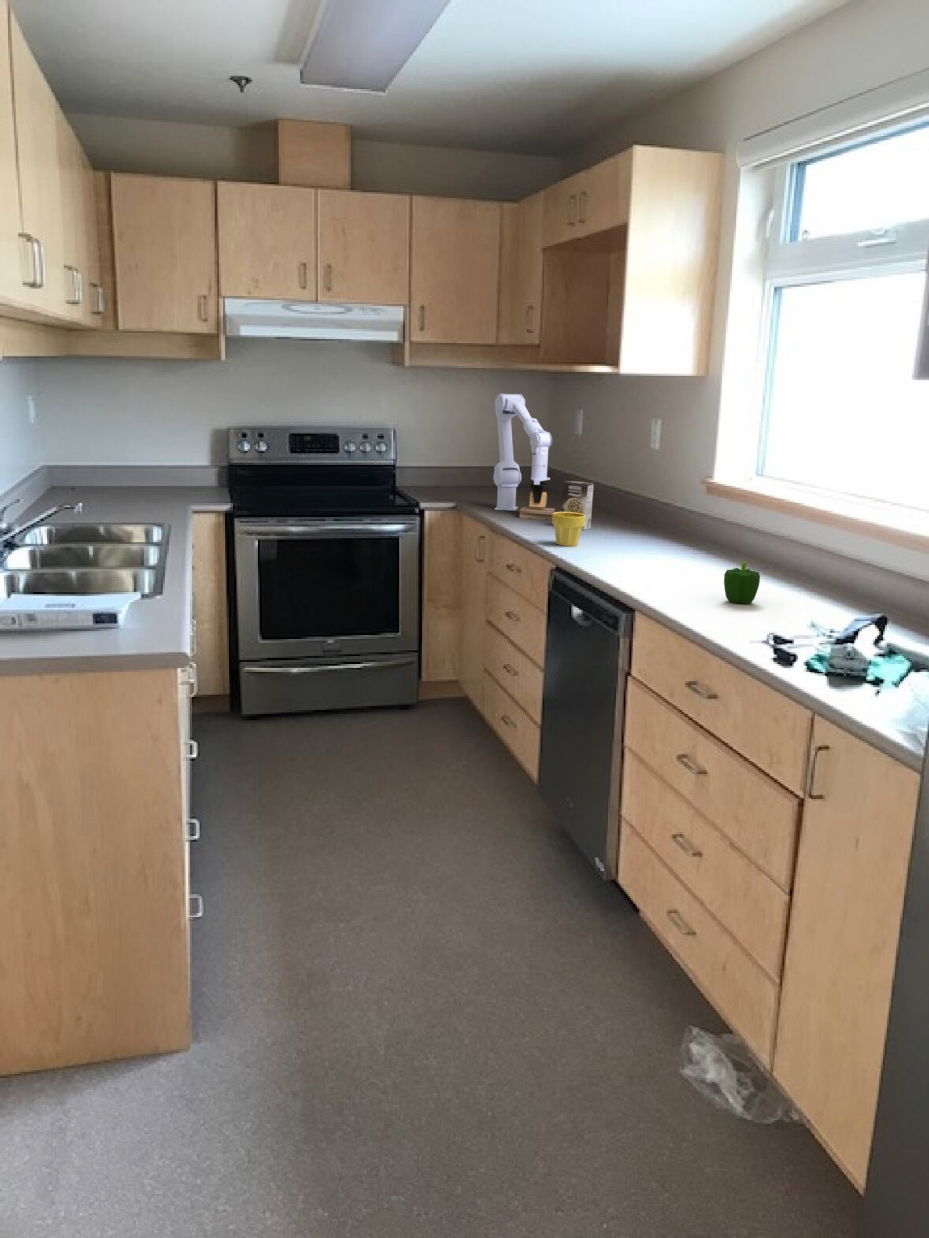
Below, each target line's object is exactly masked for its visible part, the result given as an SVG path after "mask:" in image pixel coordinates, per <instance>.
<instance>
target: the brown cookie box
mask: <svg viewBox="0 0 929 1238" xmlns="http://www.w3.org/2000/svg"><path fill="white" fill-rule="evenodd" d="M594 484H595V483H594V482H588V481H586V482H585V481H580V480H579V481H577V480H565V481H564V482H563V494H562V505H561V507H562V509H561V512H575V513H581V514H584V515H585V525H584V526H583V527H582V530H581V531H586V530H589V529H591V526H592V525H591V524H592V511H593V497H594Z"/></svg>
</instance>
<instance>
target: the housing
mask: <svg viewBox="0 0 929 1238" xmlns="http://www.w3.org/2000/svg"><path fill="white" fill-rule="evenodd" d="M547 500H548V495H547V492H546V491H544V492H542V496H541V501H540V503H534V499H533V492H532V491H531V492H529V507H539V508H546V505H547V502H548V501H547Z"/></svg>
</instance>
